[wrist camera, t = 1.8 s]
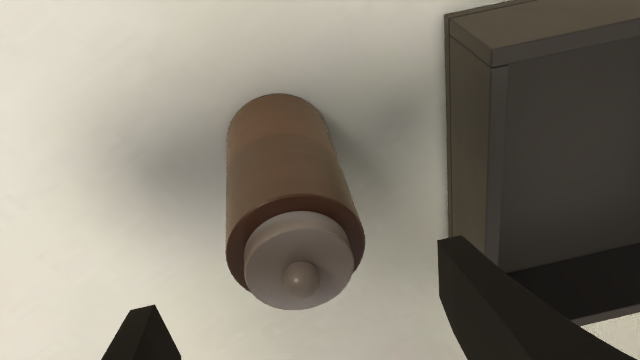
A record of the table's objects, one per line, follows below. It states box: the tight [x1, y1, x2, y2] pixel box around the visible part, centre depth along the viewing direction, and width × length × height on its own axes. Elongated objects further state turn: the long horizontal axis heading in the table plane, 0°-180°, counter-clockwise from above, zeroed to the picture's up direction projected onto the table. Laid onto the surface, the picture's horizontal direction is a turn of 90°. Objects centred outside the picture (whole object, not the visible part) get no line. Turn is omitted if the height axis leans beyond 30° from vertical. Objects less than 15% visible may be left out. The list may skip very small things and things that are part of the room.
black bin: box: [444, 0, 640, 326], centre depth 21 cm, size 14×12×4 cm
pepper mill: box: [226, 94, 365, 310], centre depth 16 cm, size 4×4×8 cm
